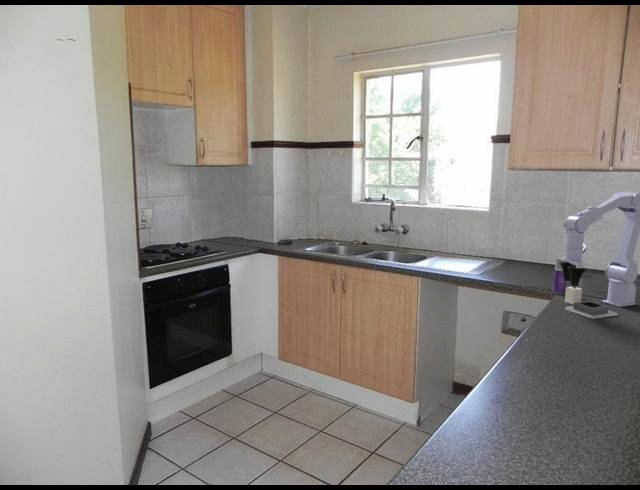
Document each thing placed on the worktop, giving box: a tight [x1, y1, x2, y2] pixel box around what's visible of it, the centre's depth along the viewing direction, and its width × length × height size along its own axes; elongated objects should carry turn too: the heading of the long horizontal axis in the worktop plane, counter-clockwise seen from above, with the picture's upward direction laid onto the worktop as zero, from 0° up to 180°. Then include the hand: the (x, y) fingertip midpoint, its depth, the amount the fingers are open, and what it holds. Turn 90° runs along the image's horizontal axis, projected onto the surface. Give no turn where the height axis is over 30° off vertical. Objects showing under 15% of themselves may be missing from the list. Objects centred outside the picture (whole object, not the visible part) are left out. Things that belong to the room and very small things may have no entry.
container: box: [552, 257, 567, 295], centre depth 201 cm, size 5×5×15 cm
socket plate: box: [564, 300, 618, 320], centre depth 175 cm, size 12×12×3 cm
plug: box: [564, 286, 583, 305], centre depth 187 cm, size 4×4×7 cm
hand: (570, 283), depth 179 cm, fingers open, 7 cm apart
